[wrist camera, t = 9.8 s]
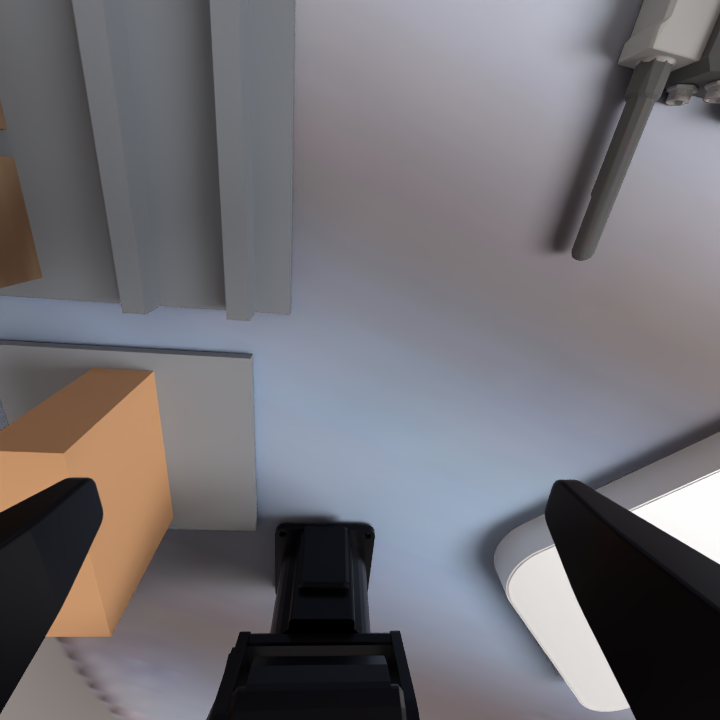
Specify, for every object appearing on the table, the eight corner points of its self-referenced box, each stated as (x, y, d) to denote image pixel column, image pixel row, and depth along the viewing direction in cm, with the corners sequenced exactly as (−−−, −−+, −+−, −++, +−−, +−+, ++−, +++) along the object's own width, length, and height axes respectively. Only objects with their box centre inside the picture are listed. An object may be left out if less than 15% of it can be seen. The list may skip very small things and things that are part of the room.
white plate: (476, 539, 27) (490, 573, 25) (794, 390, 23) (848, 412, 21) (575, 684, 35) (593, 721, 32) (825, 588, 31) (867, 621, 29)
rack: (290, 311, 19) (286, 323, 18) (-22, 290, 18) (-63, 301, 16) (295, -17, 14) (289, -48, 13) (-134, -74, 13) (-210, -119, 11)
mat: (257, 523, 25) (255, 530, 24) (47, 518, 24) (40, 526, 23) (252, 354, 20) (250, 358, 20) (-8, 339, 19) (-18, 343, 19)
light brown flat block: (173, 517, 23) (110, 636, 17) (123, 515, 23) (40, 636, 17) (153, 371, 20) (63, 453, 13) (93, 367, 19) (-29, 450, 13)
